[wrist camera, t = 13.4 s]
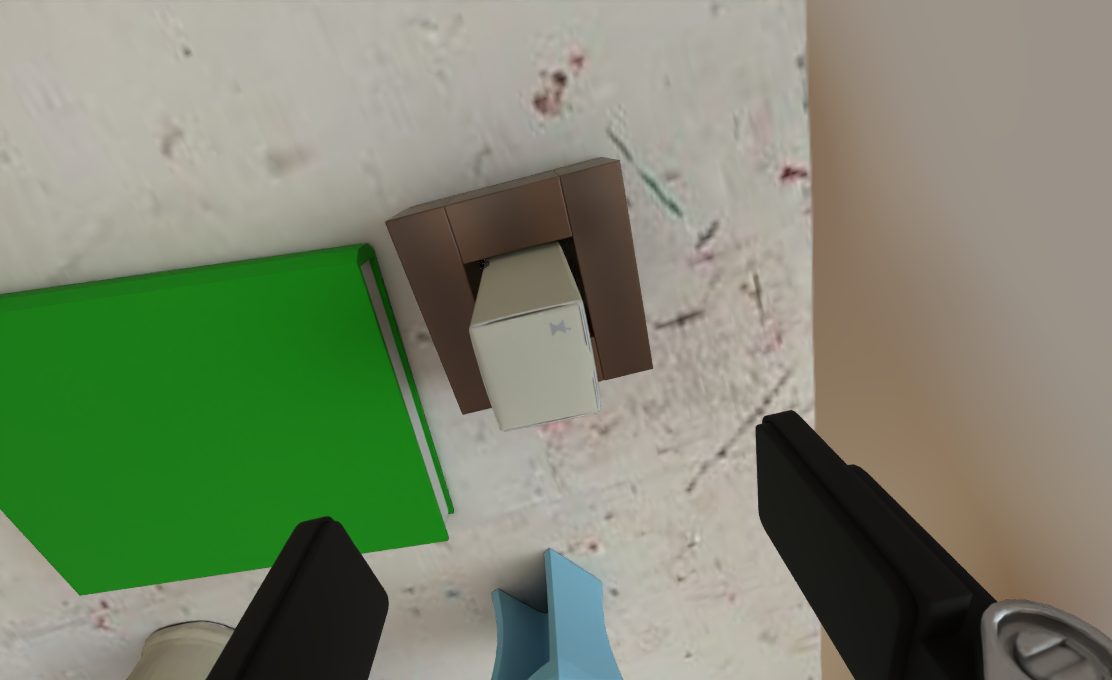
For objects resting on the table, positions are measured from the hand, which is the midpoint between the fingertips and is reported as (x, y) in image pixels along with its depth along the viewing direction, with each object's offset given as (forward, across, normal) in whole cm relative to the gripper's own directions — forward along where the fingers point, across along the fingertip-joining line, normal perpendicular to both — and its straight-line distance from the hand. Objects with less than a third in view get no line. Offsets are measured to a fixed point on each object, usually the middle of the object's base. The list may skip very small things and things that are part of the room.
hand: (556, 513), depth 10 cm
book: (+20, +25, +6) cm, 32 cm away
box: (+20, 0, 0) cm, 20 cm away
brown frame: (+20, +1, 0) cm, 20 cm away
